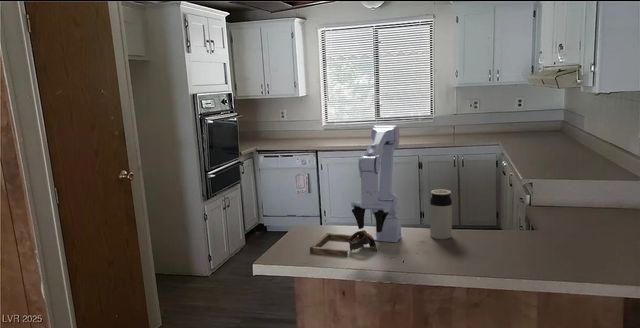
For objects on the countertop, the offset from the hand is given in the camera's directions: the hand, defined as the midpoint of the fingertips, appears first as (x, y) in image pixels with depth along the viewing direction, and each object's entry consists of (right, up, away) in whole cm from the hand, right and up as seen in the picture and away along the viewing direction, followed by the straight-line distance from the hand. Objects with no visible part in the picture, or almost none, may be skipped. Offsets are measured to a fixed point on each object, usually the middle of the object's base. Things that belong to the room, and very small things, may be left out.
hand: (370, 230), depth 161 cm
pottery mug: (-1, -9, +11) cm, 14 cm away
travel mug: (+30, -6, +21) cm, 37 cm away
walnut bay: (-10, -8, +15) cm, 20 cm away
